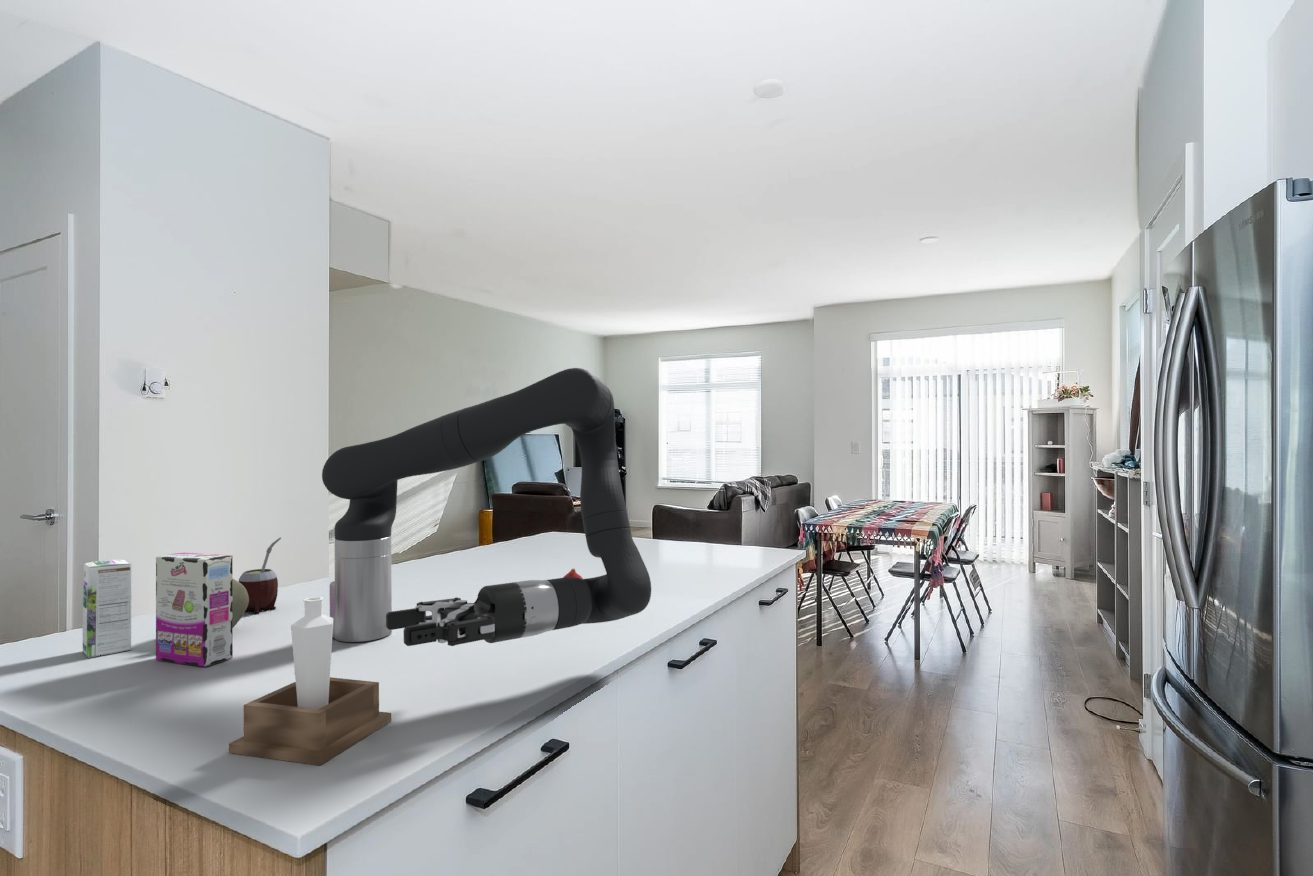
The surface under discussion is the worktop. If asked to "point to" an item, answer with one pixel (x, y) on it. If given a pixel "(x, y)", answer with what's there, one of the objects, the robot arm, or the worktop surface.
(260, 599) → the mate gourd
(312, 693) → the perfume bottle
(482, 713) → the worktop surface
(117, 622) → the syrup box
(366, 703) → the holder
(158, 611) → the candy bar box
